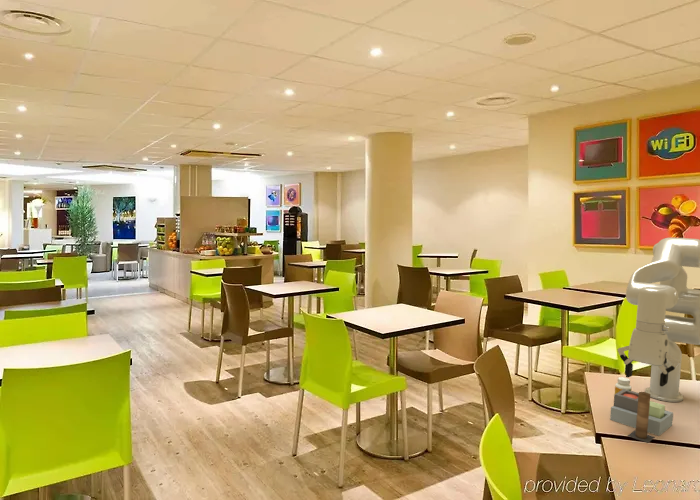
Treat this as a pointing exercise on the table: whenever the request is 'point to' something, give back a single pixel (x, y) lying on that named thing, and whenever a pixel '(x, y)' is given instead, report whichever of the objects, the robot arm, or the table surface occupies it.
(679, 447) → the table surface
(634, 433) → the pad
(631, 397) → the button
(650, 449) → the table surface
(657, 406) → the on button
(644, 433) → the brown wooden cylinder
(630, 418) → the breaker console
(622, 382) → the supplement bottle
